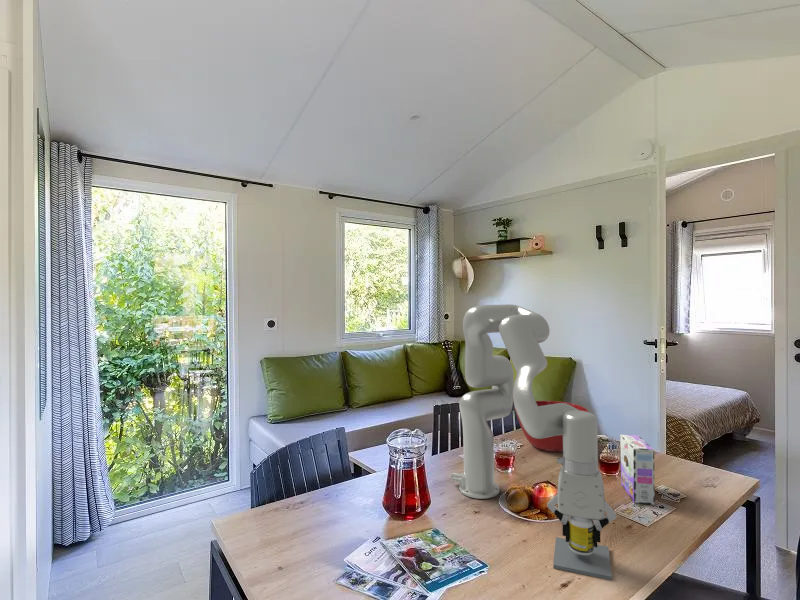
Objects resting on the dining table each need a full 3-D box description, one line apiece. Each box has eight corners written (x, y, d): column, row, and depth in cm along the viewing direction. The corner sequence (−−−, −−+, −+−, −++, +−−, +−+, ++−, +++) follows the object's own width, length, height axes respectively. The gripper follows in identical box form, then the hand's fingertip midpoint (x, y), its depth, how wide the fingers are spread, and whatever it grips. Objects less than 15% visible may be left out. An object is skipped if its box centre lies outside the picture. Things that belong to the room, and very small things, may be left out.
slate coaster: (553, 568, 99) (553, 564, 99) (555, 540, 110) (555, 536, 110) (611, 580, 94) (611, 576, 94) (608, 549, 105) (608, 546, 105)
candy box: (655, 505, 127) (655, 449, 126) (633, 504, 128) (633, 448, 128) (639, 485, 140) (639, 434, 140) (619, 483, 141) (619, 433, 141)
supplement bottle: (592, 559, 98) (591, 516, 98) (566, 552, 101) (566, 510, 101) (595, 547, 103) (595, 506, 103) (571, 540, 106) (570, 500, 106)
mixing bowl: (518, 457, 165) (518, 417, 165) (512, 433, 193) (511, 399, 193) (597, 461, 160) (597, 419, 160) (579, 436, 188) (578, 400, 188)
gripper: (540, 466, 102) (541, 543, 102) (622, 476, 95) (623, 558, 95) (543, 455, 109) (544, 526, 109) (619, 464, 102) (620, 540, 102)
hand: (581, 540), depth 102 cm, fingers closed on supplement bottle, 5 cm apart
